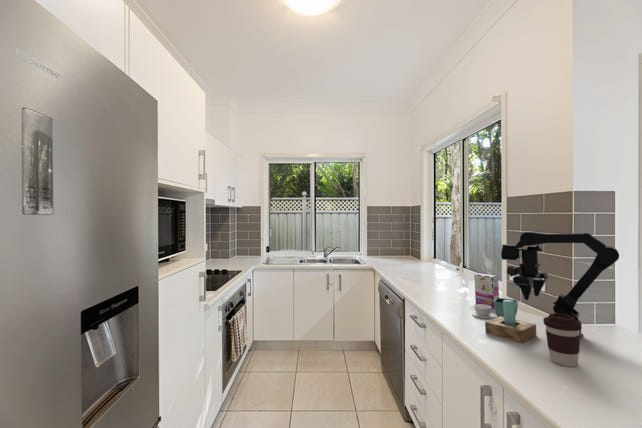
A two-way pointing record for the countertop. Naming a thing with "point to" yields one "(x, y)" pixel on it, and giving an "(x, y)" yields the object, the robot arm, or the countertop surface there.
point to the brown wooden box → (511, 329)
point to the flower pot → (500, 308)
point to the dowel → (509, 313)
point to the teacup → (483, 311)
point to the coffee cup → (563, 338)
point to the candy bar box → (486, 289)
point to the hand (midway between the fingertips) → (531, 298)
